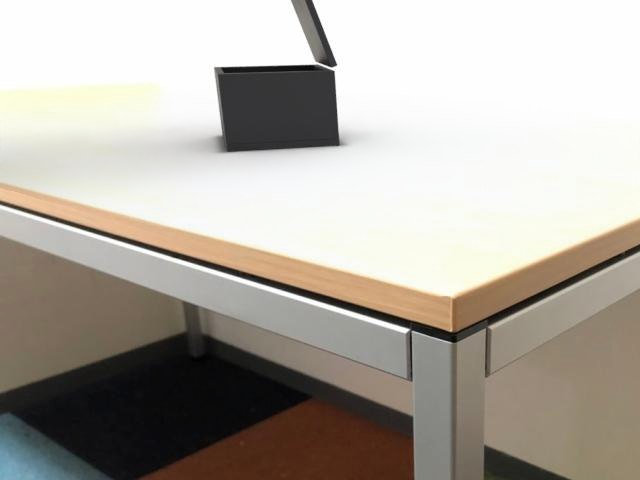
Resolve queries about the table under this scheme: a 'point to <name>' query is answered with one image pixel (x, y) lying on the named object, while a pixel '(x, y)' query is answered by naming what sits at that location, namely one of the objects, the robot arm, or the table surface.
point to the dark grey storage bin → (277, 106)
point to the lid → (314, 32)
